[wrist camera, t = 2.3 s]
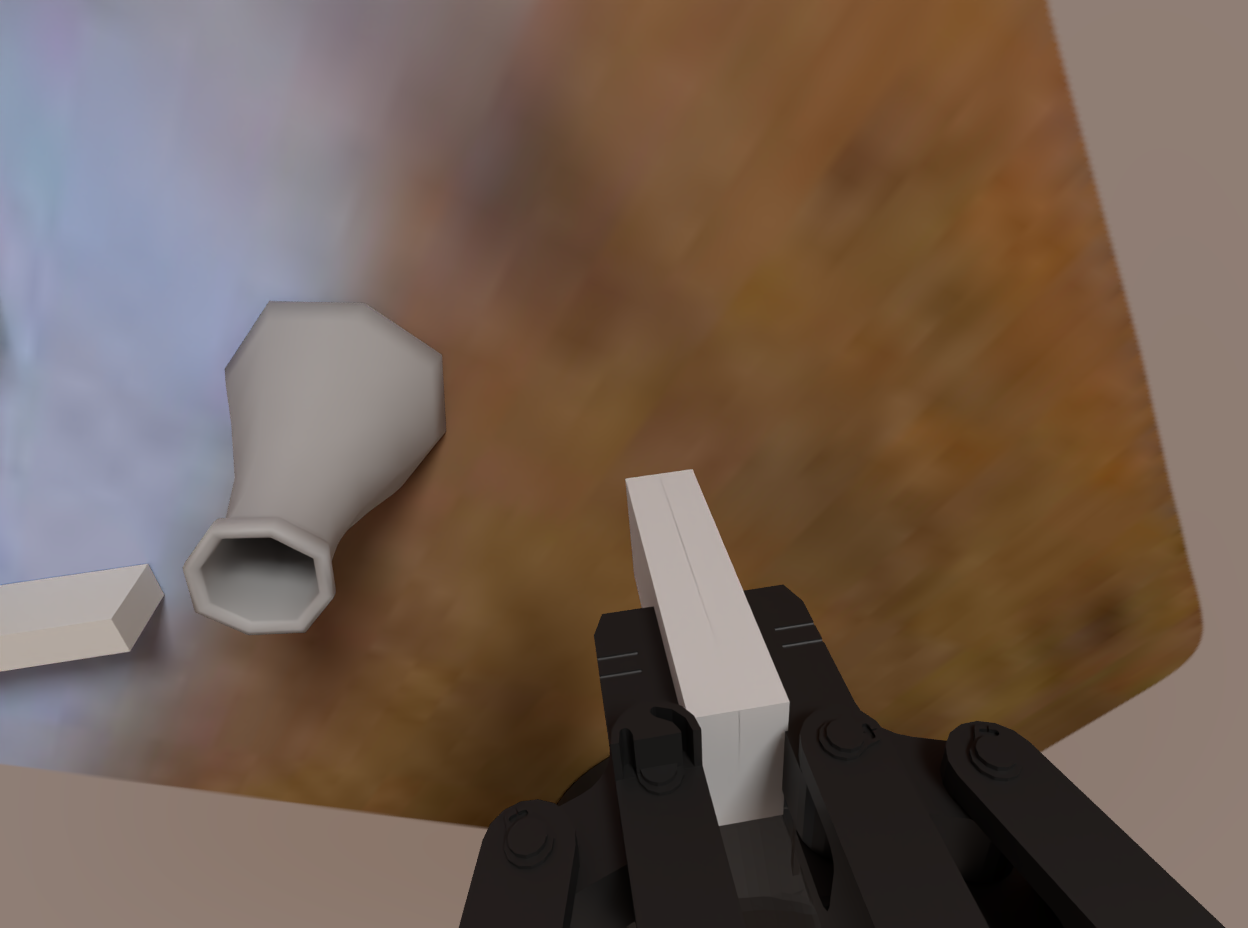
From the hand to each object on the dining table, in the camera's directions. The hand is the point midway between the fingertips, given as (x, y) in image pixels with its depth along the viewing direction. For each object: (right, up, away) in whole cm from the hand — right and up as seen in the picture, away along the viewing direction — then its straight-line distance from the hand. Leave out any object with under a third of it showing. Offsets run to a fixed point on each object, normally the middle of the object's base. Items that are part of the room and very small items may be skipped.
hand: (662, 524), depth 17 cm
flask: (-11, +4, +9) cm, 14 cm away
